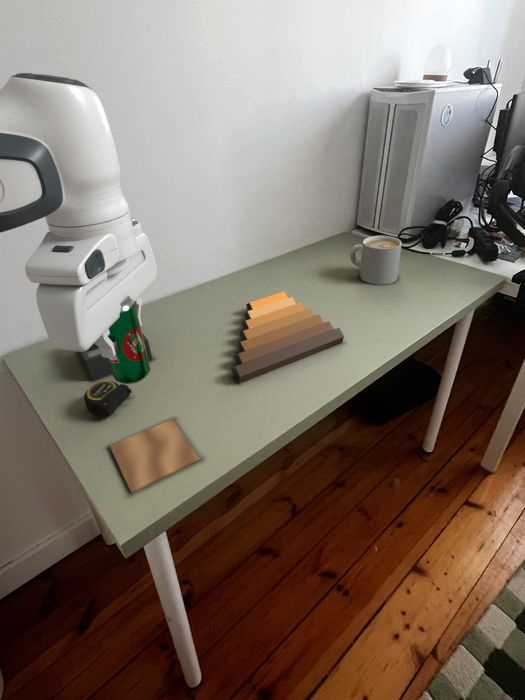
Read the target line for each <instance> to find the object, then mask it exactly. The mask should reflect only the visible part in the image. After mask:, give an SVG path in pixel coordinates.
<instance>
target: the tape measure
mask: <svg viewBox="0 0 525 700" xmlns="http://www.w3.org/2000/svg"><path fill="white" fill-rule="evenodd" d="M131 394H133V391H132V389H131V388H130V387H129V386H128V384H123V383H120V384H119V383H118V382H115V381H111V380H105V381H104V380H103V381H99V382H97V383H95V384H93V385H91V386H90V387H88V389H87V390H86V391H85V392H84V395H83V401H84V404H85V407H86V409H87V411H88V413H90V414H91V415H93V416H103V417H111V416H112V415H113V414H115V412H116V411H117V410H118V409H119V407H120V406H121V405H122V404H123V403H124V402H125V401H127V399H128V398H129V397H130V396H131Z"/></svg>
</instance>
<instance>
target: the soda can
mask: <svg viewBox="0 0 525 700" xmlns="http://www.w3.org/2000/svg"><path fill="white" fill-rule="evenodd" d="M120 305H121V310H120V317H119V318H118V319H117V320H116V321H115V322H114V323H113V324H112V325H111V326H110V327H109V332H110V334H109V335H108V338H109V339H110V340H116V341H117V343H118V348H119V352H118V353H117V354H116V355H115V356H114V357H113V358H108V361H109V364H110V368H111V371H112V374H111V375H112V377H113V379H114V380H115V381H116V382H117V383H120V384H125V385H132V384H137V383H139V382H142V381H143V380H145V379H146V378H147V376H149V373H150V371H151V365H150V361H148V357H147V352H146V348H145V344H144V340H143V336H142V333H143V332H142V328H141V327H142V326H141V327H140V323H139V319H138V315H137V311H136V306H135V302H134V300H132V299H131V298H130V295H129V296H128V298H127V299H126V300H125V301H123V302H121V303H120Z"/></svg>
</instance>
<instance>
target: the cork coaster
mask: <svg viewBox="0 0 525 700" xmlns="http://www.w3.org/2000/svg"><path fill="white" fill-rule="evenodd" d="M109 448H110V450H111V452H112V455H113V457H114V459H115V461H116V463H117V466H118V468H119V470H120V472H121V474H122V476H123V478H124V481H125V483H126V485H127V487H128V490H129V491H130V493H131V494H133V493H135V492H138V491H140V490H142V489H143V488H146V487H148V486H150V485H152V484H154V483H156V482H158V481H160V480H162V479H165V478H166V477H168V476H170V475H172V474H175V473H177V472H179V471H180V470H183V469H185V468H187V467H190V466H191V465H194V464H195V463H198V462H199V461H200V460H201V459H200V457H199V456H198V454H197V452H196V451H195V449H194V448H193V447H192V445H191V444H190V443H189V441H188V440H187V438H186V437H185V435H184V434H183V432H182V430H181V429H180V428H179V426H178V425H177V423H176V422H175V421H174V419H173V418H171V419H169V420H167V421H164V422H162V423H160V424H158V425H155V426H152V427H151V428H148V429H146V430H144V431H141V432H139V433H136V434H134V435H132V436H130V437H127V438H124V439H123V440H120V441H117V442H115V443H112V444H111V445H109Z"/></svg>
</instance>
